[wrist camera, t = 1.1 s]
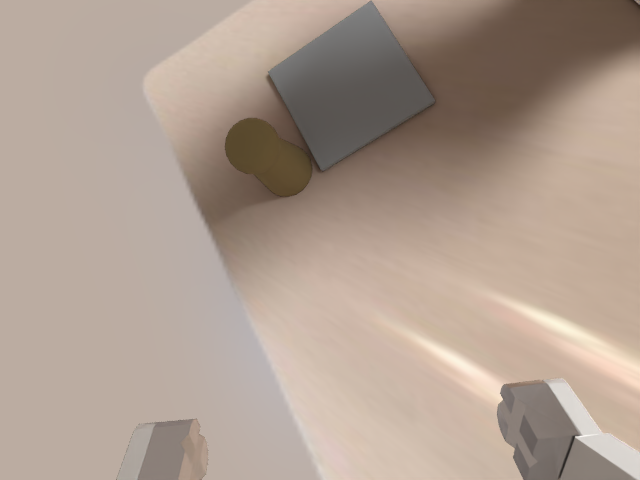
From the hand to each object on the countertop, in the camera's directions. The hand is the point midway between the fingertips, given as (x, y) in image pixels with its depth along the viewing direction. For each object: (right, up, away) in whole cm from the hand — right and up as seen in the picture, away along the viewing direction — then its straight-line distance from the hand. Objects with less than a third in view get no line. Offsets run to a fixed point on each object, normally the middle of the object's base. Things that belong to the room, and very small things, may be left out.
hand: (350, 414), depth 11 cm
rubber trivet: (+2, +22, +36) cm, 42 cm away
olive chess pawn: (-5, +13, +38) cm, 40 cm away
